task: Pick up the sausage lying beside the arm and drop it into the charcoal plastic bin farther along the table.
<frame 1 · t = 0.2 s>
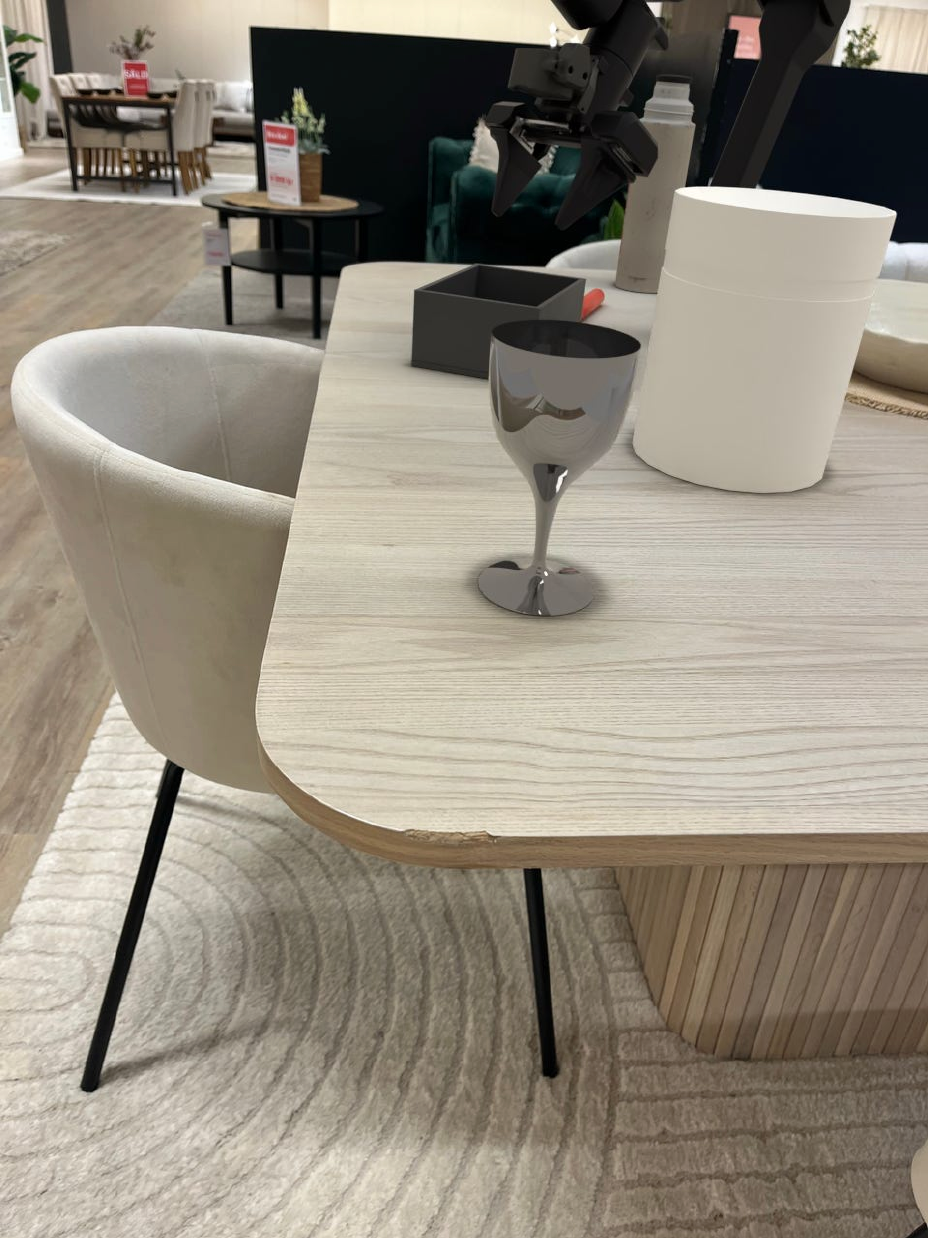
hand: (525, 220, 88), 15 cm above the table, tool tilted 30°, fingers open, 9 cm apart
wine glass: (535, 588, 57), on the table
bin: (498, 355, 102), on the table
thermos bottle: (640, 288, 141), on the table
sausage: (584, 313, 123), on the table
canister: (725, 457, 79), on the table
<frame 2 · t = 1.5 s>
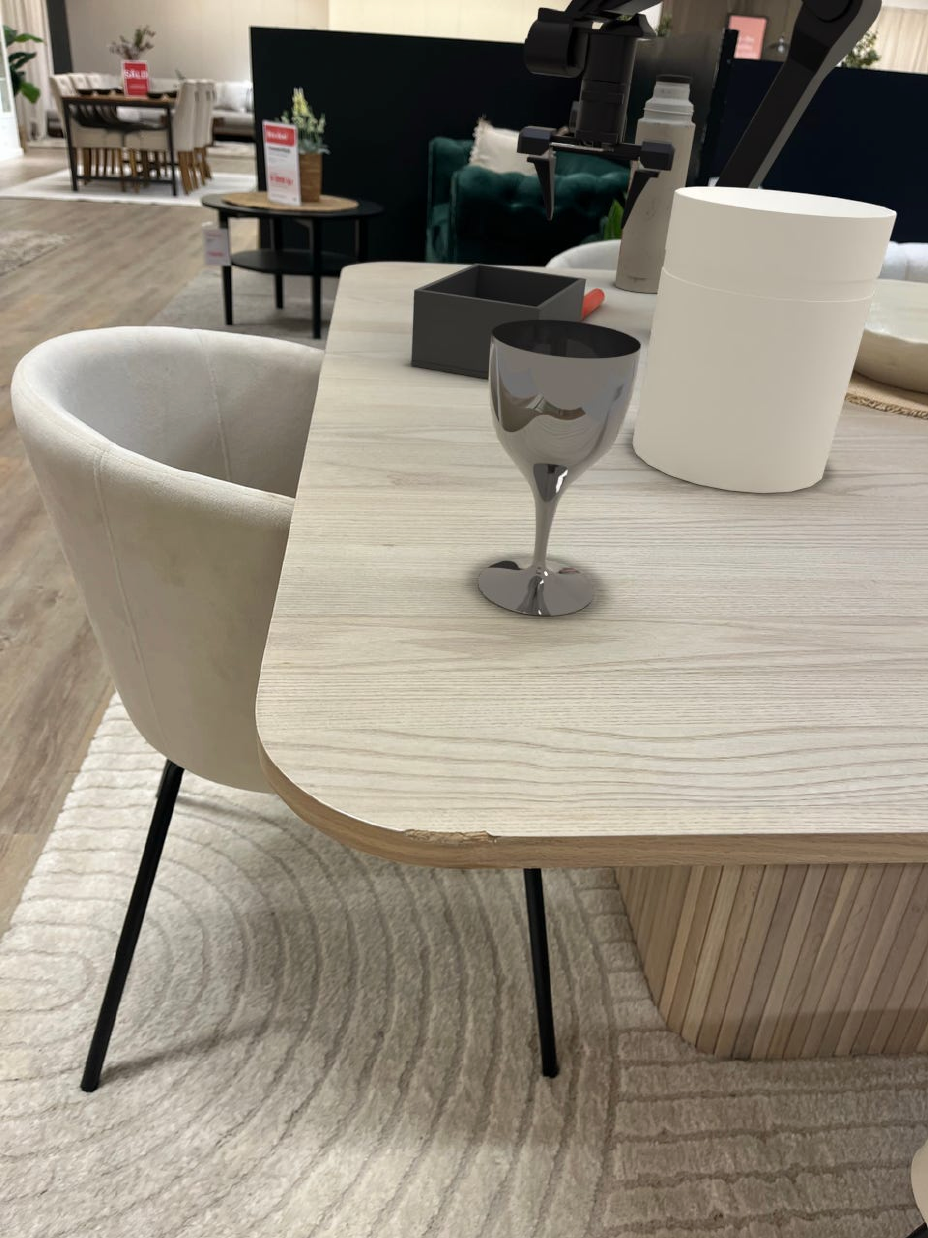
hand: (585, 224, 117), 11 cm above the table, tool pointing down, fingers open, 9 cm apart
nothing on the table moved.
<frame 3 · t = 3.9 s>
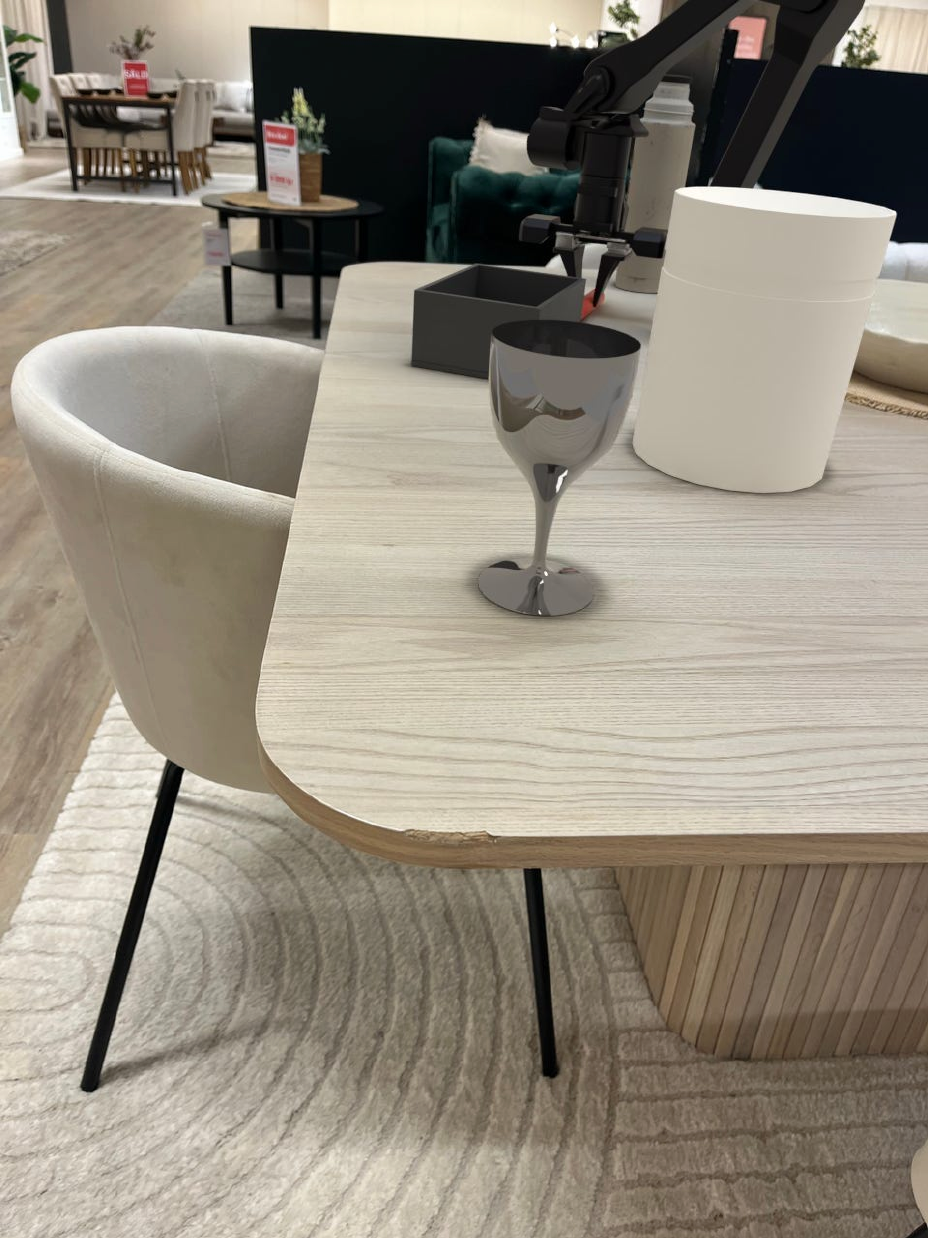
hand: (586, 305, 122), 1 cm above the table, tool pointing down, fingers closed on sausage, 2 cm apart
sausage: (584, 313, 123), on the table, touching gripper
everything else where it was.
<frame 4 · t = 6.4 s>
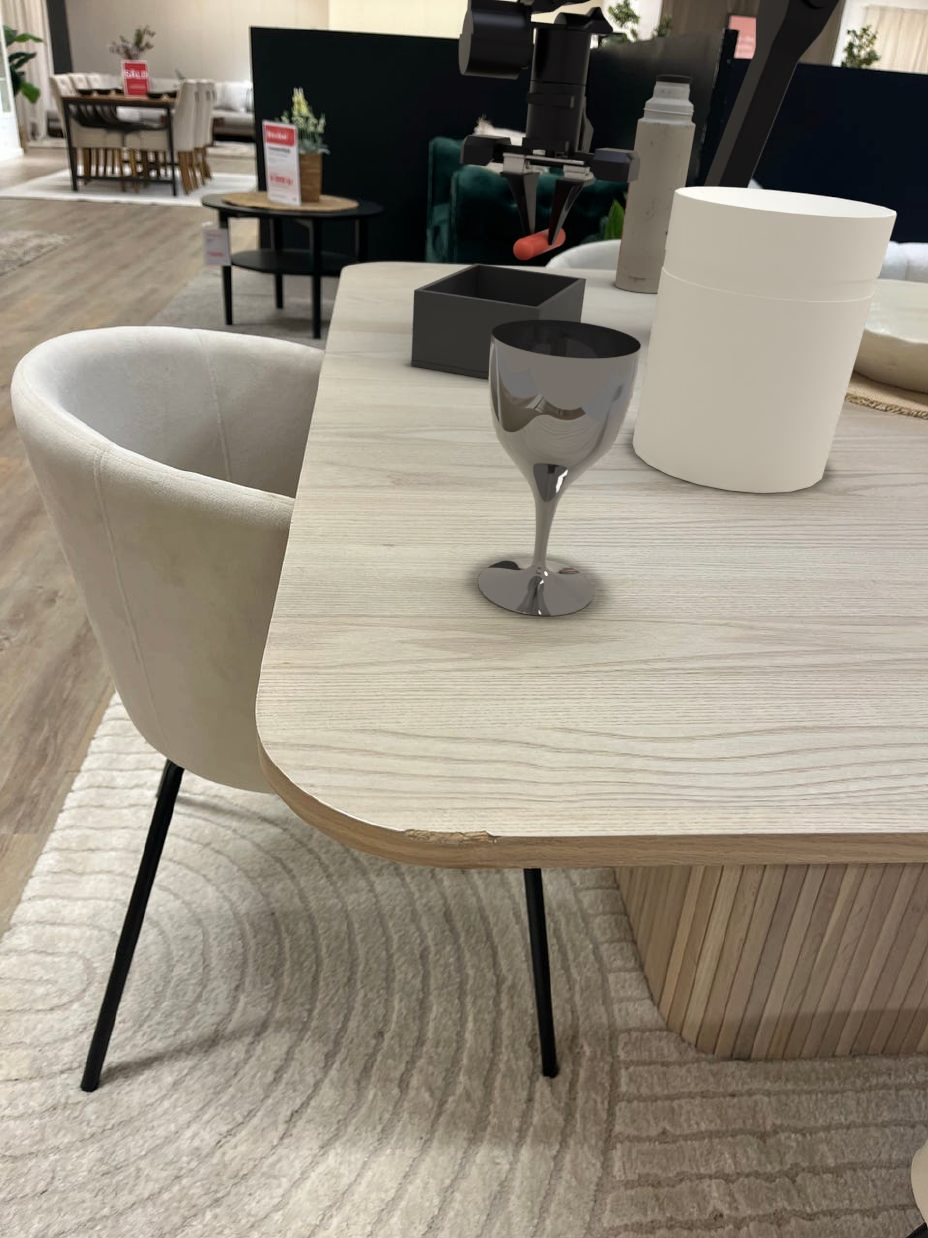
hand: (540, 243, 104), 11 cm above the table, tool pointing down, fingers closed on sausage, 2 cm apart
sausage: (539, 252, 104), point 10 cm above the table, touching gripper
everything else where it was.
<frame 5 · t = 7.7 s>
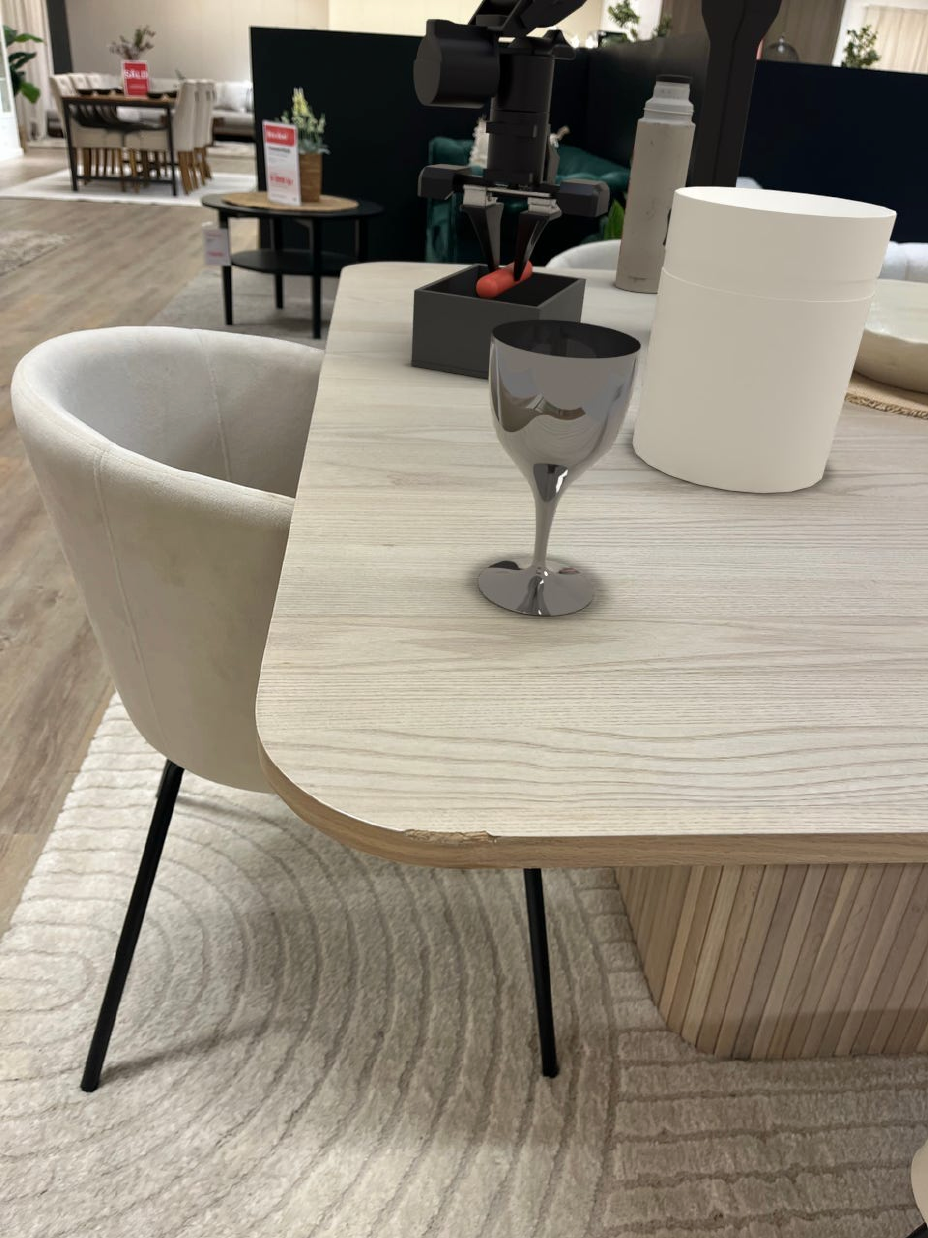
hand: (505, 279, 98), 8 cm above the table, tool pointing down, fingers closed on sausage, 2 cm apart
sausage: (504, 288, 98), point 7 cm above the table, touching gripper
everything else where it was.
when the fingers open (5 cm above the table, at t = 8.8 s): sausage drops 3 cm, resting on bin.
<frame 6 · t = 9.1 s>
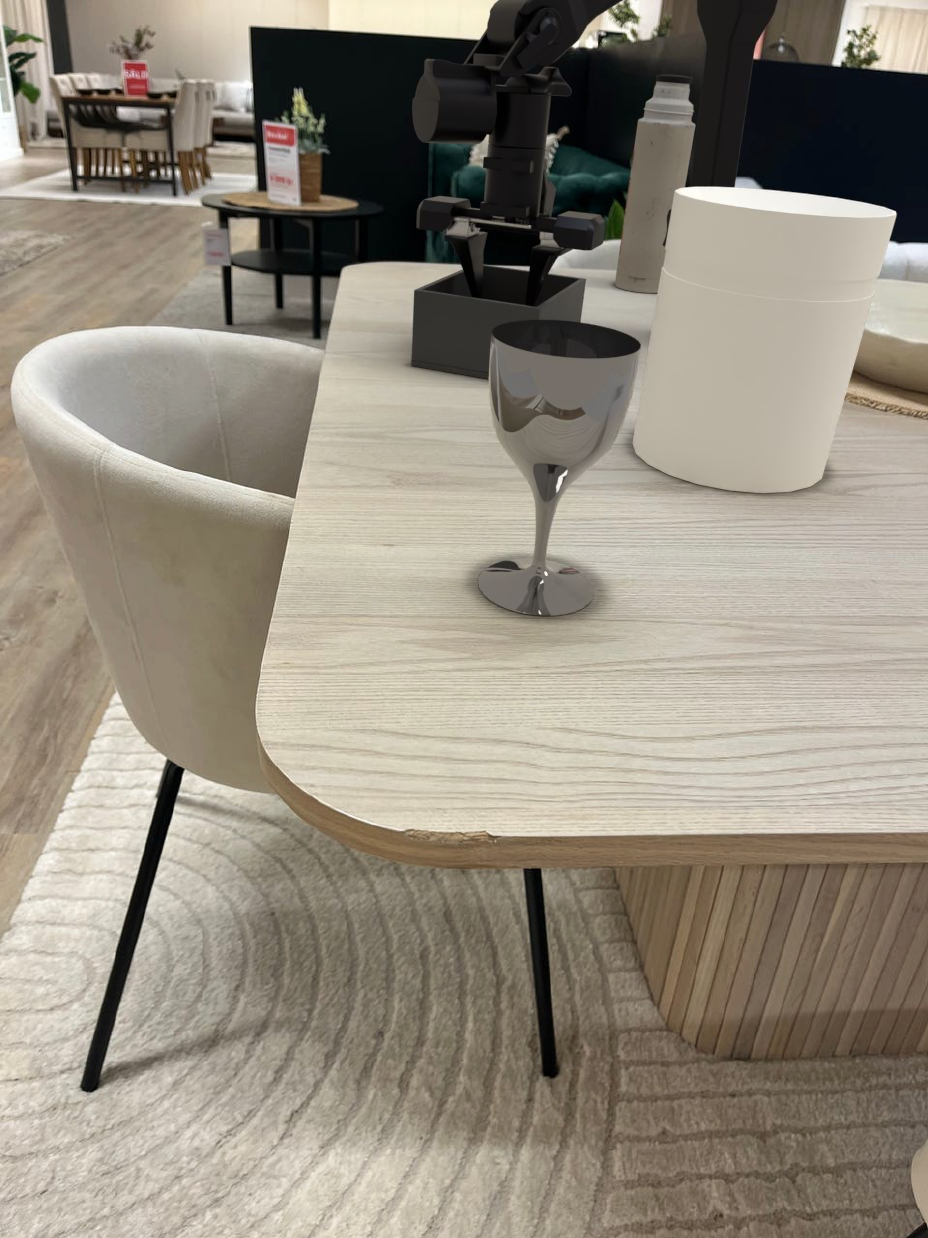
hand: (502, 308, 99), 5 cm above the table, tool pointing down, fingers open, 5 cm apart
sausage: (499, 349, 101), point 1 cm above the table, tilted 9°, touching bin
everything else where it was.
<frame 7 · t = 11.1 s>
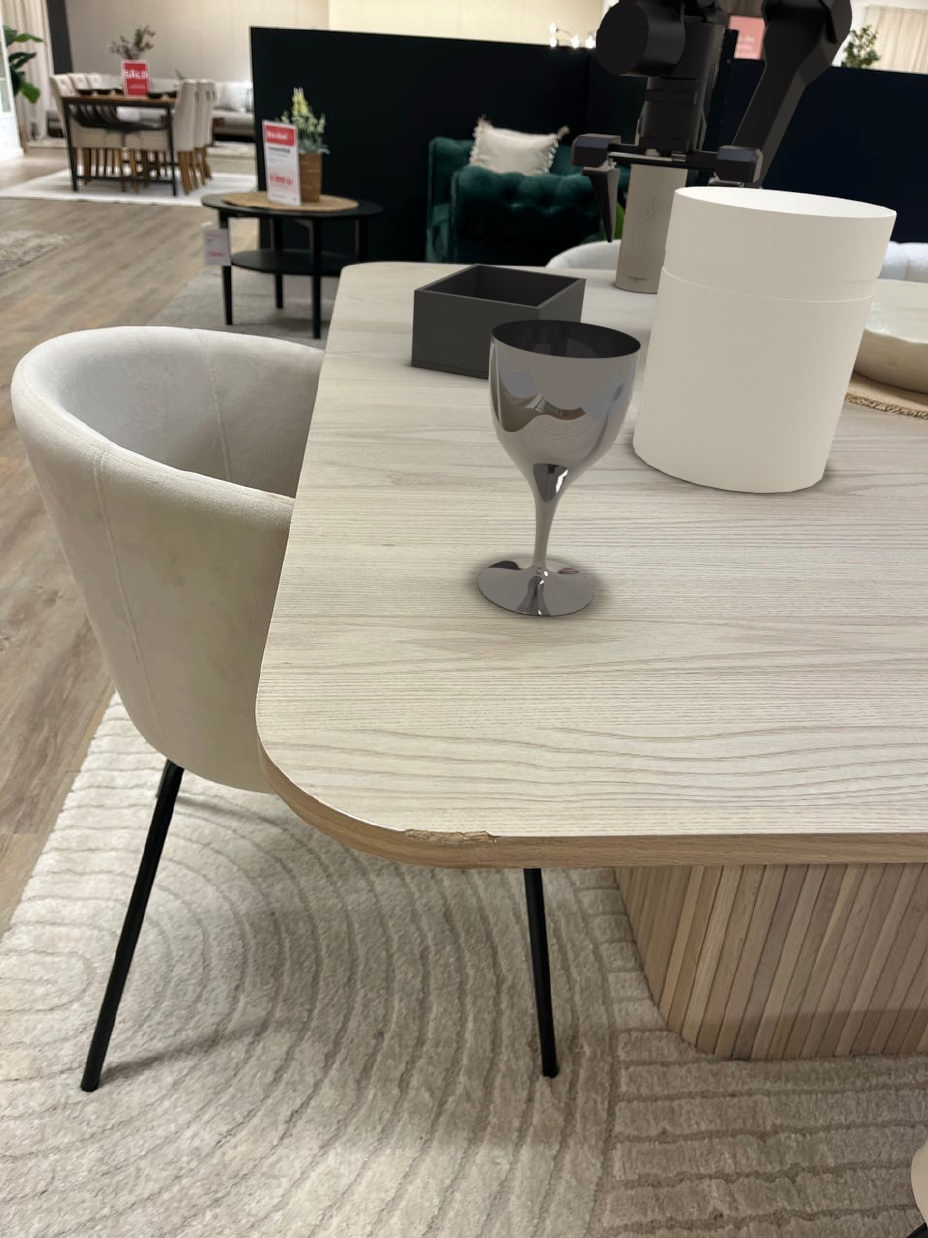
hand: (651, 247, 99), 12 cm above the table, tool pointing down, fingers open, 9 cm apart
sausage: (502, 344, 101), point 1 cm above the table, tilted 67°, touching bin
everything else where it was.
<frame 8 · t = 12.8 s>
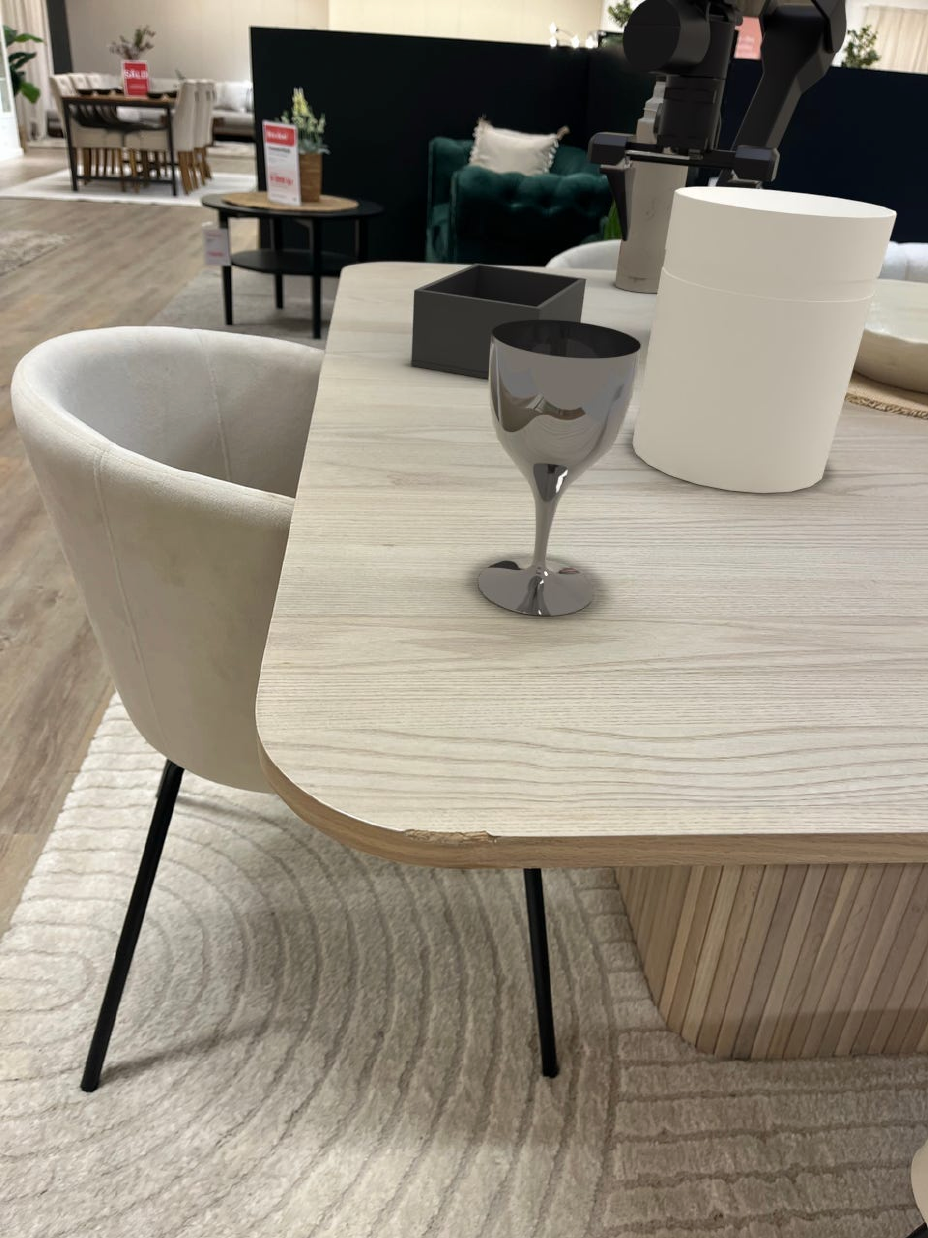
hand: (667, 246, 99), 12 cm above the table, tool pointing down, fingers open, 9 cm apart
sausage: (511, 337, 100), point 2 cm above the table, tilted 116°, touching bin
everything else where it was.
at the end: sausage inside the target area in the bin (1.2 cm from its centre), point 2.2 cm above the bin's base; the gripper is holding nothing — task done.
